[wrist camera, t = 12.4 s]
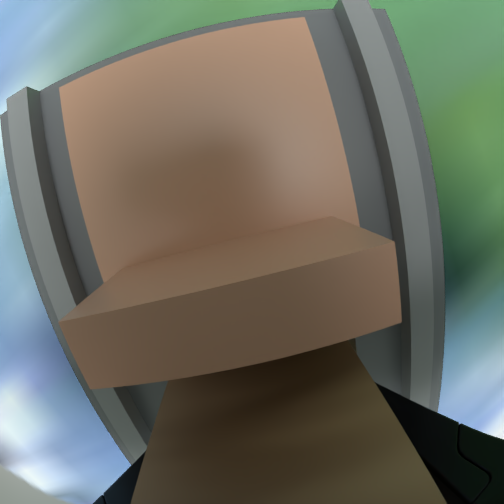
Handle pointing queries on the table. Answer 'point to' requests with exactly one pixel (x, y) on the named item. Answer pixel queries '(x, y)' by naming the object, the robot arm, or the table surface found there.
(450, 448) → the robot arm
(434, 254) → the socket block
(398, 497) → the plug
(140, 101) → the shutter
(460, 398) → the table surface
